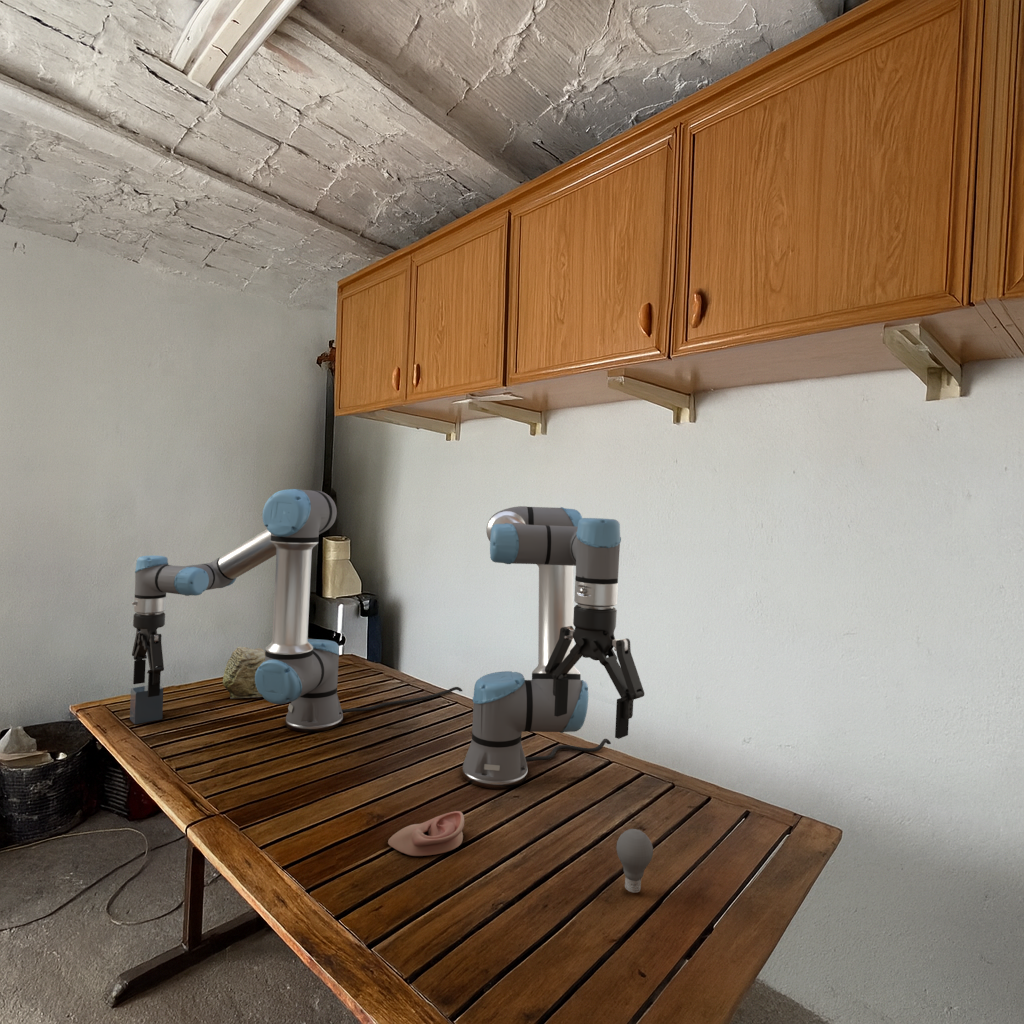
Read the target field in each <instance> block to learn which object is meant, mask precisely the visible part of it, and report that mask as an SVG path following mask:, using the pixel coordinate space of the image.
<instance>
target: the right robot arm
mask: <svg viewBox="0 0 1024 1024" xmlns="http://www.w3.org/2000/svg"><path fill="white" fill-rule="evenodd" d="M486 537H487V539H488V541H489V558H490V560H491V561H492V562H493V563H496V564H497V563H498V564H505V565H512V564H514V565H516V564H517V565H522V564H523V565H536V566H537V567H538V644H537V645H538V658H537V659H538V661H537V662H538V664H537V666H536V667H535V668H534V669H533V670H532V671H531V679H526V678H525V677H524V674H522V673H521V672H518V671H510V670H506V671H505V670H504V671H503V670H502V671H496V672H491V673H488V674H487V673H486V674H484V675H483V676H480V677H479V678H478V679H477V680H476V681H475V683H474V688H473V697H472V702H473V704H472V705H473V706H472V723H471V724H472V725H471V726H472V727H471V741H470V744H469V746H468V750H467V752H466V755H465V758H464V761H463V763H462V774H461V775H462V777H463V779H464V780H465V781H467V782H468V783H470V784H472V785H474V786H478V787H481V788H486V789H498V790H499V789H509V788H515V787H517V786H520V785H521V784H523V783H524V782H525V781H526V780H527V779H528V774H529V771H528V770H529V767H528V763H529V762H537V761H548V760H551V759H553V758H554V757H555V755H556V753H557V752H558V751H560V750H571V751H578V752H584V753H595V752H598V751H600V750H602V749H603V747H604V746H605V745H606V744H607V745H611V744H612V742H611V741H610V740H609V739H608V738H604V739H602V740H601V742H600V744H598V745H597V746H596V747H595V746H594V747H581V746H577V745H571V744H570V745H569V744H561V745H557V746H555V747H554V748H553V749H552V750H551V752H550V754H548V755H538V756H529V757H526V755H525V751H524V748H523V745H522V733H523V732H525V733H526V732H527V733H528V732H530V733H561V734H563V733H575V732H578V731H579V730H581V729H582V727H583V726H584V723H585V721H586V718H587V713H588V707H589V686H588V685H589V684H588V682H587V681H585V680H583V679H581V676H582V675H581V672H580V670H579V669H578V668H577V667H576V666H575V665H576V664H577V663H578V662H579V660H580V659H581V658H585V659H587V658H588V659H591V660H593V661H599V663H600V665H602V666H603V667H604V669H605V671H606V673H607V674H608V676H609V678H610V680H611V682H612V683H613V685H614V687H615V689H616V691H617V693H618V695H619V698H616V710H615V726H614V727H615V728H614V729H615V730H614V733H615V734H614V738H615V739H617V740H619V739H623V738H624V737H627V736H629V725H630V719H632V718H633V717H634V716H633V715H634V700H638V699H640V698H643V697H644V696H645V691H644V690H645V689H644V687H643V683H642V681H641V678H640V675H639V672H638V669H637V667H636V663H635V661H634V658H633V655H632V651H631V650H632V649H631V640H630V639H629V638H622V639H621V638H620V639H619V638H616V636H615V630H616V627H617V613H618V612H617V611H618V610H617V609H616V607H615V606H616V605H618V596H619V595H618V594H619V567H620V548H621V542H622V537H621V523H620V522H619V520H617V519H614V518H604V517H603V518H599V517H583V515H582V514H581V513H580V511H578V510H577V509H575V508H566V507H562V506H560V507H549V506H547V507H546V506H525V505H523V506H521V505H519V506H512V507H508V508H504V509H502V510H499V511H497V512H496V513H494V514H493V515H491V517H489V520H488V522H487V524H486ZM574 568H575V578H574ZM574 580H575V581H574ZM574 602H575V603H576V605H574ZM615 652H616V653H615Z"/></svg>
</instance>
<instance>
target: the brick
mask: <svg viewBox="0 0 1024 1024" xmlns="http://www.w3.org/2000/svg"><path fill="white" fill-rule="evenodd" d="M147 696H148V685H143V686H136V687H131V688H130V698H129V699H130V700H129V701H130V704H129V720H130V721H131V722H132V723H133V725H139V724H144V723H149V722H155V721H159V720H163V716H164V714H163V711H164V687H162V686H161V685H160V695H159V696H153V697H147Z"/></svg>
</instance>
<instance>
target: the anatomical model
mask: <svg viewBox="0 0 1024 1024" xmlns="http://www.w3.org/2000/svg"><path fill="white" fill-rule="evenodd" d="M464 827H465V816H464V813H463V812H462V811H460V810H454V811H451V812H446V813H443V814H440V815H438V816H435V817H433V818H431V819H428V820H426V821H424V822H421V823H414V824H410V825H407V826H405V827H403V828H401V829H399V830H397V832H395V833H394V834H392V835H391V837H390V838H388V840H387V841H388V842H387V844H388V845H389V846H390V847H391V848H393V849H394V850H396V851H398V852H400V853H402V854H405V855H407V856H411V857H423V856H432V855H433V856H434V855H439V854H444V853H448V852H451V851H453V850H456V848H459V846H461V845H462V843H463V839H464V835H463V834H464V833H463V830H464Z"/></svg>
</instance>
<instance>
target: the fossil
mask: <svg viewBox="0 0 1024 1024" xmlns="http://www.w3.org/2000/svg"><path fill="white" fill-rule="evenodd" d="M263 662H265V650H264V649H263V648H260V647H258V648H251V647H247V646H246V647H245V646H238V647H237V648H236V649H235V650H233V651H232V653H231V656H230V657H229V659H228V660H227V663H226V666H225V668H224V671H223V675H222V676H223V677H222V685H223V687H224V688H225V690H226V691H228V693H229V698H230V699H250V698H263V696H262V695H261V694H260V693H259V692H258V690H257V687H256V684H255V674H256V671H257V669H258V667H260V665H261V664H262V663H263Z"/></svg>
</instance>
